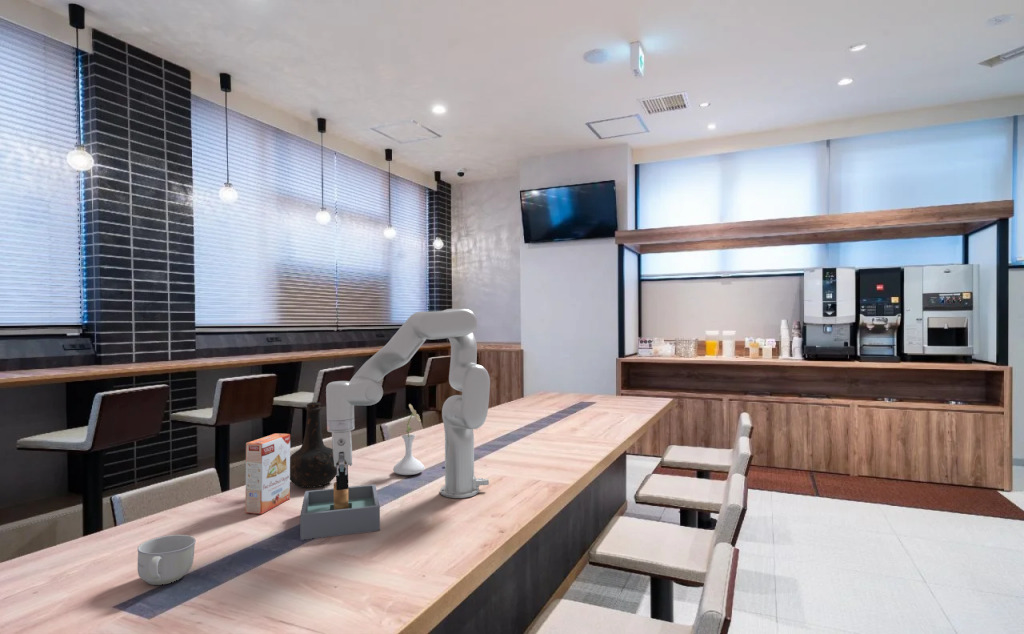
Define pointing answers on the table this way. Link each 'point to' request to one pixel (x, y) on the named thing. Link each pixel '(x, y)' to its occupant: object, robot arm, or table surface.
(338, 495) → the peg
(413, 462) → the flower in vase
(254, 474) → the cracker box
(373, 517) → the bore box
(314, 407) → the dark brown vase
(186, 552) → the teacup
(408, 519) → the table surface
